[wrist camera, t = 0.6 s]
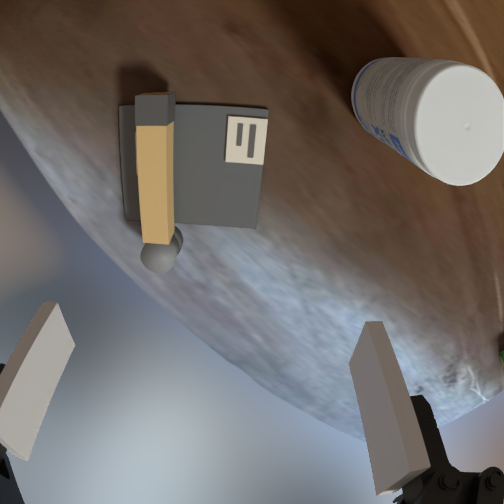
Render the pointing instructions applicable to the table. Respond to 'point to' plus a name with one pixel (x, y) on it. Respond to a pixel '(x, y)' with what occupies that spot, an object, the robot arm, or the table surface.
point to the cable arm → (156, 178)
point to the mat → (198, 168)
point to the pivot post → (178, 237)
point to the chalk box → (502, 357)
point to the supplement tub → (433, 115)
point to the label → (246, 140)
